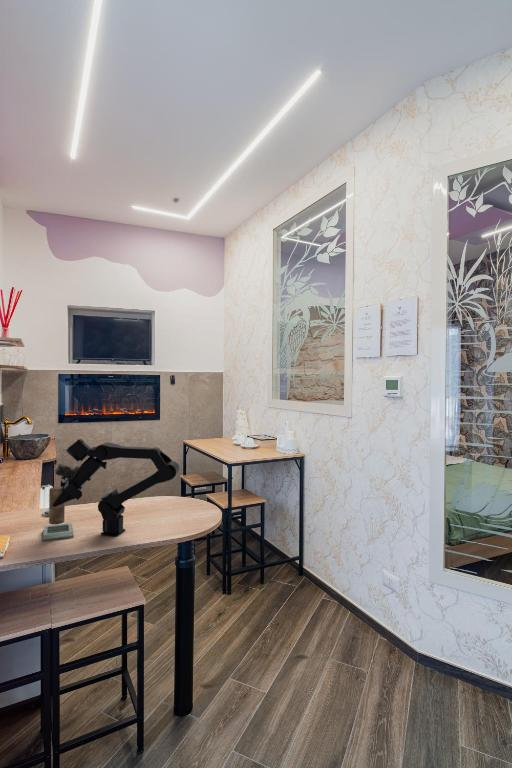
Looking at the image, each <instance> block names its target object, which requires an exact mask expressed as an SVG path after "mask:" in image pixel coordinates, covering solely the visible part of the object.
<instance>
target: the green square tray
mask: <svg viewBox="0 0 512 768" xmlns="http://www.w3.org/2000/svg"><path fill="white" fill-rule="evenodd" d="M73 528H74V527H73V524H72V522H70V523H61V524H49V525H44V526H43V530H42V542H47V541H49V540H50V541H56V540H57V539H58V540H64V538H65V539H72V538H74V529H73ZM50 541H49V542H50Z"/></svg>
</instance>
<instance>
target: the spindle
mask: <svg viewBox="0 0 512 768" xmlns="http://www.w3.org/2000/svg"><path fill="white" fill-rule="evenodd" d="M48 491H49V495H48V497H49V500H48V503H49V504H48V508H49V516H48V524H49V525H59V524H64V522H65V507H66V504H65V503H66V502H65V503H63V504H60V505H58V506H56V507H54V506H52V504H53V503H54V502H55V500H56V499H57V498H58V496H59V495H60V494H61V493H62V487H60V486H54V487H51V488H49V489H48Z"/></svg>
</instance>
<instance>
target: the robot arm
mask: <svg viewBox="0 0 512 768" xmlns="http://www.w3.org/2000/svg"><path fill="white" fill-rule="evenodd" d="M66 453H67V454H68V455H69V456H70V457H71V458H72V459H74V460H75V462H76V463H79V462H81V464H80V465H79V466H75V467H74V468H73V467H70V466H68V465H65V464H61V463H58V465H57V466H56V469H55V471H54V473H55V475H57V476H60V483H59V487H62V493H61V494H60V495H59V496H58V498H57V499H56V500H55V502H54V503H53V504H52V506H54V507H56V506H58V505H60V504H63V503H67V502H69V501H72V500H77V501H79V500H80V499H81V498H83V497H82V496H83V492H82V491H83V490H82V488H83V485H85V483H87V482H90V481H91V480H92V477H93V476H94V475H95V474H96V473H97V472H98V471H99V470H100V469H101V468H103V470H107V469H108V468H107V467H108V466H107V465H108V462H107V461H108V460H109V461H110V460H114V459H115V460H116V459H119V458H122V459H141V460H142V459H143V460H144V459H145V460H151V462H152V463H153V465H154V466H155V468H156V469H157V470H156V471H155V472H154V473H152V474H150V475H149V476H147V477H145V478H143V479H141V480H139V481H137V482H136V483H135V484H134V483H133V485H130V486H129V487H127V488H125V489H123V490H121V491H118V489H117V488H115V489H114V490H112V491H111V492H108V493H107V494H105V495H104V496H102V497H100V498H101V500H100V501H99V502H98V503H97V504H98V505H97V510H98V512H99V513H100V514H101V517H102V532H100V535H101V536H108V537H109V536H111V537H118V536H120V535H121V534H122V533H124V532H125V531H126V528H124V515H122V514H124V512H125V510H126V507H125V506H124V505H123V504H124V503H125V502H127V501H128V500H130V499H131V498H133V497H135V496H137V495H139V494H140V493H142V492H145V491H147V490H148V489H150V488H152V487H153V486H156V485H157V484H162V483H165V482H169V481H171V480H173V479H175V477H176V476H177V475H178V474H179V472H180V468H181V467H180V465H179V464H178V462H176V461H174V460H173V459H171V457H170V456H169V455H167V454H165V452H163V450H161V449H160V448H159V447H156V446H155V447H149V446H148V447H147V446H146V447H143V446H142V447H141V446H126V445H125V446H124V445H120V444H117V443H114V442H108V441H107V442H104V443H102V444H99V445H97V446H93V447H90V446H89V445H88V444H87V443H86V442H85V441H84V439H82V438H78V439H77V440H76V441H74V442H73V444H71V445H70V446H69V447H68V448H67V449H66Z"/></svg>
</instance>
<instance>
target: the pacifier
mask: <svg viewBox="0 0 512 768" xmlns="http://www.w3.org/2000/svg"><path fill="white" fill-rule="evenodd" d="M41 515H42V516H45V517H47V516H48V517H49V507H48V508H47V509H45V510H44V511H43V512H42V513H41Z"/></svg>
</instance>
